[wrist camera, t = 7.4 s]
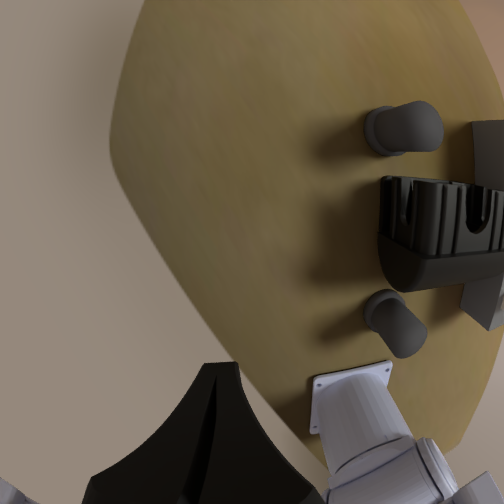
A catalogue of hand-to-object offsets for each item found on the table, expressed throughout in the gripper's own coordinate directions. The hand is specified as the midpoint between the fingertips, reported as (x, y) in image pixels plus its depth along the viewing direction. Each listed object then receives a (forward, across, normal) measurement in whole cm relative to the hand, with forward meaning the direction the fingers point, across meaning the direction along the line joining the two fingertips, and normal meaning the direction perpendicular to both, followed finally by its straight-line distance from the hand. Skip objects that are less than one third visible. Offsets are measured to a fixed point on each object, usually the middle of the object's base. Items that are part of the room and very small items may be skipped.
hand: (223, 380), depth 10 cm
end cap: (+10, -16, -3) cm, 19 cm away
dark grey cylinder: (+10, -12, +4) cm, 16 cm away
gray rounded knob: (+10, -12, -10) cm, 18 cm away
